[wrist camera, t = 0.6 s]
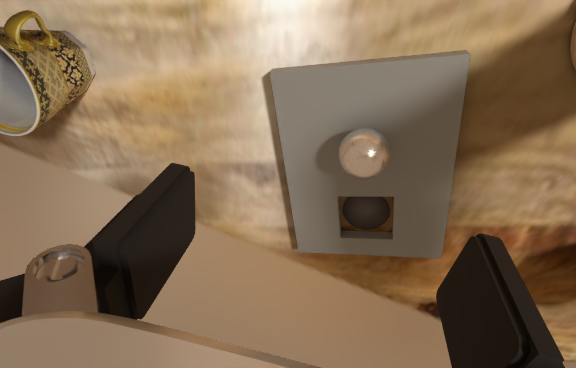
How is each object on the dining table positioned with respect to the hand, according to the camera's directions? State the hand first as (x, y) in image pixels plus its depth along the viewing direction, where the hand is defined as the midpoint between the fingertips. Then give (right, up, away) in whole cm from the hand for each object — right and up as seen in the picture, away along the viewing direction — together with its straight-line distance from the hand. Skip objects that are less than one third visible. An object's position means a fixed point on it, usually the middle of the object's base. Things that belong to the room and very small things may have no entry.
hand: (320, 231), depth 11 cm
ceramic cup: (-25, +17, +26) cm, 40 cm away
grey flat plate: (+8, +3, +27) cm, 28 cm away
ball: (+6, +5, +21) cm, 23 cm away
